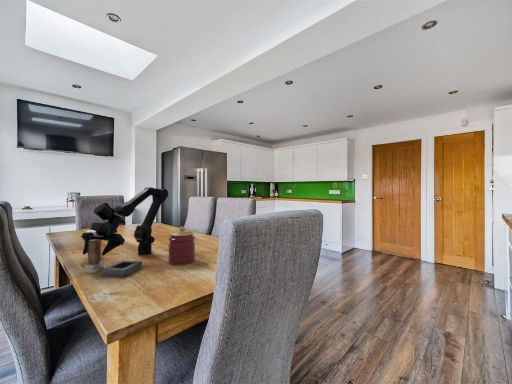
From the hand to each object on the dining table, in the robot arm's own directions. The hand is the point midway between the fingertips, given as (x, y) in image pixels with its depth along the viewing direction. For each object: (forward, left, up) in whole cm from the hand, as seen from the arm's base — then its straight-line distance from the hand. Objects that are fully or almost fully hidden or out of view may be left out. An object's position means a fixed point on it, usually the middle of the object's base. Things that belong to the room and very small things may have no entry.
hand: (92, 254), depth 105 cm
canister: (-38, -5, -7) cm, 39 cm away
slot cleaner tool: (0, -1, -7) cm, 7 cm away
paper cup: (+7, -25, -7) cm, 27 cm away
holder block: (-13, +5, -7) cm, 16 cm away
